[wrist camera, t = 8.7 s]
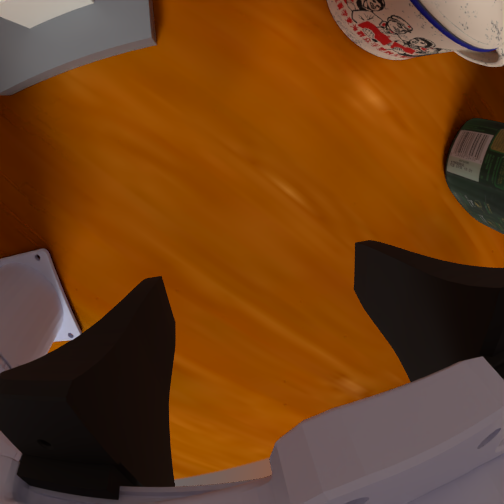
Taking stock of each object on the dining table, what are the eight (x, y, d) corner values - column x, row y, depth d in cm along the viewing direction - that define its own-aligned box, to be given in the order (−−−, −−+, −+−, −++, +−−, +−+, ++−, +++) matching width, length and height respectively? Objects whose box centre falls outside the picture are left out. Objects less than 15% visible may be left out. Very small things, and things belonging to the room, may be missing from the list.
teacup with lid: (299, 18, 16) (392, -63, 5) (345, -60, 13) (430, -134, 2) (434, 109, 19) (560, 127, 8) (463, 28, 16) (571, 18, 6)
